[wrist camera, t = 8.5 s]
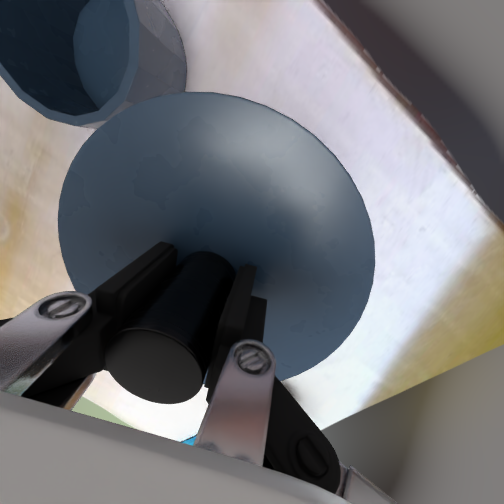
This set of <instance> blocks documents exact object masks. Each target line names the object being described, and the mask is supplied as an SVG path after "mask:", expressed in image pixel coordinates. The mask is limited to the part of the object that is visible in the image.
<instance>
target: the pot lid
mask: <svg viewBox="0 0 504 504" xmlns="http://www.w3.org/2000/svg"><path fill="white" fill-rule="evenodd" d="M58 233H59V242H60V247H61V252H62V257H63V260H64V263H65V266H66V270H67V273H68V275H69V277H70V279H71V282H72V284H73V286H74V288H75V290H76V292H82V293H85V294H87V295H88V294H89V293H91V292H92V291H94V290H95V289H96V288H97V287H98V286H100V285H101V284H103V283H104V282H105V281H107V280H108V279H109V278H111V277H112V276H114V275H115V274H116V273H118V272H119V271H120V270H122V269H123V268H124V267H126V266H127V265H129V264H130V263H131V262H133V261H134V260H135V259H137V258H138V257H140V256H141V255H142V254H144V253H145V252H146V251H148V250H149V249H150V248H152V247H153V246H155V245H156V244H157V243H159V242H160V241H162V242H166V243H170V244H173V245H174V247H175V248H176V249H177V250H178V254H177V263H176V268H175V269H174V270H173V271H172V272H171V273H170V274H169V275H168V276H167V277H166V278H165V279H164V281H163V282H162V283H161V284H160V285H159V286H158V287H157V288H156V289H155V290H154V291H153V292H152V293H151V295H150V296H149V297H148V298H147V299H146V300H145V301H144V302H143V303H142V304H141V305H140V306H139V307H138V309H137V310H136V311H135V312H134V313H133V314H132V315H131V316H130V317H129V318H128V319H127V320H126V321H125V323H124V324H123V325H122V326H121V327H120V328H119V329H118V330H117V331H116V332H115V333H114V334H113V336H112V337H111V338H110V339H109V340H108V342H107V344H106V346H105V350H104V360H105V364H106V366H107V369H108V371H109V372H110V374H111V375H112V377H113V378H114V379H115V380H116V381H117V382H118V383H119V384H120V385H121V386H122V387H123V388H125V389H126V390H127V391H129V392H130V393H132V394H134V395H136V396H138V397H140V398H142V399H145V400H148V401H151V402H155V403H161V404H176V403H181V402H185V401H187V400H189V399H191V398H193V397H194V396H195V395H196V394H197V393H198V392H199V391H200V389H201V387H202V385H203V384H205V381H206V377H207V372H208V368H209V365H210V362H211V358H212V350H213V345H214V341H215V336H216V332H217V327H218V324H219V320H220V317H221V315H222V312H223V309H224V307H225V304H226V301H227V299H228V296H229V294H230V291H231V288H232V286H233V283H234V280H235V278H236V275H237V272H238V270H239V267H240V266H243V267H245V264H248V265H252V266H256V267H257V270H256V275H255V279H254V284H253V288H252V293H251V295H252V296H256V297H260V298H263V299H267V308H266V318H265V327H264V336H263V343H264V344H265V345H266V346H268V347H269V348H270V350H271V351H272V352H273V354H274V356H275V359H276V370H275V376H276V377H277V378H278V379H279V381H282V380H285V379H288V378H291V377H293V376H296V375H299V374H301V373H302V372H304V371H306V370H308V369H310V368H312V367H314V366H315V365H317V364H318V363H320V362H321V361H323V360H324V359H326V358H327V357H328V356H329V355H330V354H332V353H333V352H334V351H335V350H336V349H337V348H338V347H339V346H340V345H341V344H342V343H343V342H344V341H345V339H346V338H347V337H348V336H349V335H350V334H351V332H352V331H353V329H354V327H355V326H356V324H357V323H358V321H359V320H360V318H361V315H362V313H363V311H364V309H365V307H366V304H367V302H368V299H369V295H370V292H371V288H372V284H373V277H374V269H375V245H374V237H373V232H372V227H371V222H370V218H369V215H368V213H367V210H366V207H365V204H364V202H363V199H362V196H361V195H360V193H359V191H358V189H357V187H356V185H355V184H354V182H353V180H352V178H351V176H350V175H349V173H348V172H347V171H346V169H345V168H344V167H343V165H342V164H341V163H340V161H339V160H338V159H337V157H336V156H335V155H334V154H333V153H332V152H331V151H330V150H329V149H328V148H327V147H326V146H325V145H324V144H323V143H322V142H321V141H320V140H319V139H318V138H317V137H316V136H315V135H313V134H312V133H311V132H309V131H308V130H307V129H305V128H304V127H302V126H301V125H300V124H298V123H297V122H295V121H294V120H293V119H291V118H289V117H287V116H285V115H283V114H281V113H279V112H277V111H276V110H274V109H272V108H270V107H268V106H265V105H262V104H259V103H256V102H253V101H250V100H248V99H245V98H242V97H237V96H231V95H226V94H220V93H214V92H182V93H175V94H169V95H162V96H158V97H155V98H152V99H149V100H146V101H143V102H140V103H137V104H135V105H133V106H131V107H129V108H127V109H125V110H123V111H121V112H120V113H118V114H116V115H114V116H113V117H112V118H111V119H109V120H108V121H107V122H105V123H104V124H103V125H102V126H100V127H99V128H98V129H97V130H96V131H95V132H94V133H93V134H92V135H91V136H90V137H89V139H88V140H87V141H86V142H85V143H84V144H83V145H82V147H81V149H80V150H79V152H78V153H77V155H76V156H75V158H74V160H73V161H72V163H71V165H70V168H69V170H68V173H67V175H66V177H65V180H64V183H63V187H62V191H61V195H60V200H59V210H58Z"/></svg>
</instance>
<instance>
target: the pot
mask: <svg viewBox="0 0 504 504" xmlns="http://www.w3.org/2000/svg"><path fill="white" fill-rule="evenodd" d="M0 75H1V77H2V78H3V79H4V80H5V82H6V83H7V84H8V85H9V87H10V88H11V89H12V90H13V92H14V93H15V94H16V95H17V97H18V98H19V99H21V100H22V101H24V102H25V103H26V104H28V105H29V106H31V107H32V108H33V109H35V110H36V111H38V112H39V113H41V114H42V115H43V116H45V117H46V118H48V119H51V120H54V121H58V122H62V123H66V124H70V125H74V126H78V127H86V128H94V129H98V128H99V127H100V126H102V125H103V124H104V123H105V122H107V121H108V120H109V119H111V118H112V117H113V116H114V115H116V114H118V113H120V112H121V111H123V110H125V109H127V108H129V107H131V106H133V105H135V104H137V103H140V102H143V101H146V100H149V99H152V98H155V97H158V96H162V95H169V94H175V93H182V92H184V90H185V84H186V59H185V52H184V48H183V44H182V40H181V38H180V35H179V32H178V30H177V28H176V26H175V24H174V22H173V20H172V19H171V17H170V15H169V14H168V12H167V11H166V9H165V7H164V5H163V4H162V3H161V1H160V0H0Z"/></svg>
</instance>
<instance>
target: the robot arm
mask: <svg viewBox="0 0 504 504" xmlns="http://www.w3.org/2000/svg"><path fill="white" fill-rule="evenodd" d="M177 254H178V250H177V249H176V248H175V247H174V245H173V244H170V243H166V242H162V241H160V242H159V243H157V244H156V245H155V246H153V247H152V248H150V249H149V250H148V251H146V252H145V253H144V254H142V255H141V256H140V257H138V258H137V259H135V260H134V261H133V262H131V263H130V264H129V265H127V266H126V267H124V268H123V269H122V270H120V271H119V272H118V273H116V274H115V275H114V276H112V277H111V278H109V279H108V280H107V281H105V282H104V283H103V284H101V285H100V286H98V287H97V288H96V289H95V290H94V291H92V292H91V293H89V294H88V295H87V294H85V293H82V292H76V291H65V292H59V293H54V294H52V295H49V296H46V297H44V298H42V299H41V300H39V301H37V302H36V303H34V304H33V305H32V306H30V307H29V308H27V309H26V310H24V311H23V312H21V313H20V314H19V315H17V316H16V317H14V318H9V319H4V320H0V504H398V503H396V502H395V501H394V500H393V499H391V498H390V497H389V496H388V495H387V494H385V493H384V492H383V491H382V490H380V489H379V488H378V487H377V486H376V485H374V484H373V483H372V482H371V481H369V480H368V479H367V478H366V477H365V476H363V475H362V474H361V473H360V472H358V471H357V470H356V469H355V468H354V467H352V466H351V465H350V466H349V467H348V468H347V467H346V466H344V465H343V464H342V463H341V462H340V461H339V460H338V457H337V455H336V452H335V450H334V448H333V447H332V445H331V444H330V442H329V441H328V439H327V438H326V437H325V436H324V434H323V433H322V432H321V431H320V429H319V428H318V427H317V426H316V425H315V423H314V422H313V421H312V420H311V419H310V417H309V416H308V415H307V414H306V412H305V411H304V410H303V409H302V408H301V406H300V405H299V404H298V403H297V401H296V400H295V399H294V398H293V397H292V395H291V394H290V393H289V392H288V390H287V389H286V388H285V387H284V386H283V384H282V383H281V382H280V381H279V379H278V378H277V377H276V376H275V370H276V359H275V356H274V354H273V352H272V351H271V350H270V348H269V347H268V346H266V345H265V344H264V343H263V336H264V327H265V318H266V308H267V299H263V298H260V297H256V296H252V295H251V293H252V288H253V284H254V279H255V275H256V270H257V267H256V266H252V265H248V264H245V267H243V266H240V267H239V270H238V272H237V275H236V278H235V280H234V283H233V286H232V288H231V291H230V294H229V296H228V299H227V301H226V304H225V307H224V309H223V312H222V315H221V317H220V320H219V324H218V327H217V332H216V336H215V341H214V345H213V350H212V358H211V362H210V365H209V368H208V372H207V377H206V381H205V386H204V387H206V388H209V389H208V393H207V398H206V401H207V403H208V404H209V405H208V408H207V410H206V413H205V415H204V418H203V421H202V423H201V426H200V428H199V431H198V434H197V436H196V439H195V441H194V444H193V446H192V445H189V444H185V443H182V442H178V441H175V440H171V439H168V438H164V437H161V436H158V435H154V434H151V433H147V432H144V431H140V430H137V429H133V428H130V427H126V426H123V425H119V424H116V423H112V422H109V421H105V420H102V419H98V418H95V417H91V416H87V415H84V414H81V413H77V412H73V411H71V410H72V409H73V408H74V406H75V405H76V403H77V402H78V401H79V399H80V398H81V396H82V395H83V394H84V392H85V391H86V389H87V388H88V387H89V385H90V384H91V383H92V381H93V380H94V378H95V376H96V373H97V372H100V371H102V370H106V371H108V369H107V366H106V364H105V360H104V350H105V346H106V344H107V342H108V340H109V339H110V338H111V337H112V336H113V334H114V333H115V332H116V331H117V330H118V329H119V328H120V327H121V326H122V325H123V324H124V323H125V321H126V320H127V319H128V318H129V317H130V316H131V315H132V314H133V313H134V312H135V311H136V310H137V309H138V307H139V306H140V305H141V304H142V303H143V302H144V301H145V300H146V299H147V298H148V297H149V296H150V295H151V293H152V292H153V291H154V290H155V289H156V288H157V287H158V286H159V285H160V284H161V283H162V282H163V281H164V279H165V278H166V277H167V276H168V275H169V274H170V273H171V272H172V271H173V270H174V269H175V268H176V263H177Z"/></svg>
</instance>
